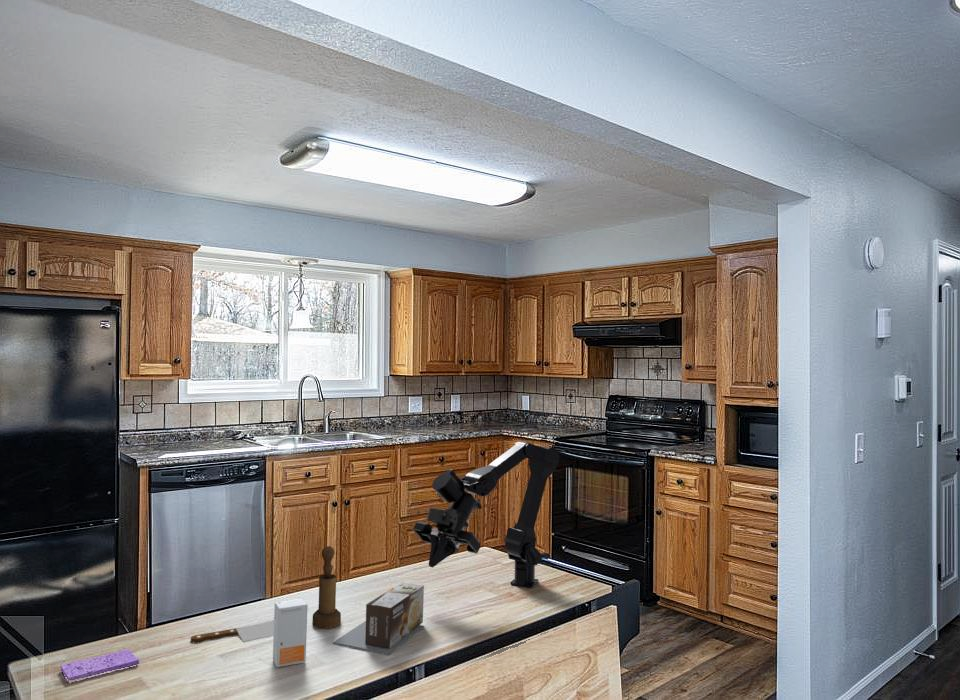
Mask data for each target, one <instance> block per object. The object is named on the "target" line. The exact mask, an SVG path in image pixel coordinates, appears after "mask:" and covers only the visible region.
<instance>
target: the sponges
mask: <svg viewBox="0 0 960 700" xmlns="http://www.w3.org/2000/svg"><path fill="white" fill-rule="evenodd" d="M137 664H140V658H138V657H137V656H136V655H135V654H134V653H133V652H132V651H131V650H130V649H129V648H128V649H124V650H120V651H115V652H111V653H108V654H104V655H99V656H94V657H91V658H86V659H82V660H77V661H71V662H67V663H63V664H60V672H61V671H62V672H63V674H64V675H65V677H67V679H68V681H69V680H75V679H79V678H84V677H88V676H92V675H96V674H100V673H104V672H107V671H112V670H116V669H121V668H125V667H130V666H133V665H137ZM137 666H138V665H137ZM63 674H62V675H63ZM65 677H64V678H65Z"/></svg>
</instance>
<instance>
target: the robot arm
mask: <svg viewBox="0 0 960 700" xmlns="http://www.w3.org/2000/svg"><path fill="white" fill-rule="evenodd" d="M526 459H528V464H527V465H528V469H529V474H530V475H529V479H528V482H527V486H526V490H525V493H524V497H523V501H522V505H521V508H520V511H519V515H518V519H517V522H516V523H515V525H514V526H513V527H510V526H509V527H508V528H507V530H506V536H505V538H504V539H503V541H504V549H505V551H506V553H507V555H508V559H509V560H513V561H514V579H512V580H511V581H510V583H509V584H510V585H513V586H518V587H519V586H520V587H527V588H533V587H534V586H535V585H536V584H538V582H539V578H536V575H535V574H536V573H535V572H536V566H538V565H540V564H541V563H542V559H543V554H541V552H540V551H539V550H538V548H537V547H536V545H537V537H536V531H535V526H536V521H537V518H538V514H539V510H540V507H541V503H542V500H543V496H544V492H545V488H546V484H547V481H548V479H549V477H551V475H552V474H554V472H555V471H556V469H557V467H558V463H559V462H560V454H559V452H558V450H557V449H556V448H555V447H551V446H545V445H539V444H538V445H536V444H534V443H532V442H528V441H522V440H519V441H516V442H515V443H514V445H513V446H511V447H510V448H508V449H507V451H505V452H504V453H502V454H501V455H500V456H498V457H497V458H496V459H494V460H493V461H492V462H490V463H489V464H487V465H486V466H482V467H478V468H476V469H473V470H472V471H469V472H467V473H466V474H465V476H463V477H460V478H459V476H458V475H457V474H456V472H455V471H454V470H453V469H450V468H448V469H447V470H446V471H445V472H443V473H441V474H439V475H438V476H436V477H435V478H434V480H433V481H432V484H431V487H432V490H433V491H435V492H436V493H437V494H438V495H439V497H440V498H442V499H443V501H444V502H445V503H448V504H450V503H451V504H450V506H449V508H446V509H438V508H436V507H435V508H434V507H429V510H428V513H427V517H426V521H428V522H429V521H430V522H432V523H433V526H434V527H435V528H433V527H432V525H431V524H430V523H428V522H422V521H417V522H416V523H414V526H413V528H412V531H413V532H414V534H416V536H417V537H418V538H419V539H420V541H421V542H424V543H426V544H428V543H429V544H430V552H429V553H430V554H429V557H428V558H429V560H428V566H429V567H430V568H435V566H437V565H438V564H439V563H442V562H443V561H444V560H445V559H447V558H449V557H451V555H453V554H455V553H459V550H460V549H459V547H460V546H461V545H465V546H466V550H467V552H469V553H471V554H478V552H479V551H480V548H481V542H480V541H479V539H478V538H477V537H476V535H475V534H474V533H473V532H471V531H468V530H464V529H465V528H467V529H468V528H469V526H470V525H469V523H468V521H469V519H470V517H471V515H472V513H473V510H482V504H481V502H480V501H481V499H480V498H476V497H475V496H474V495H476V496H480V497H486V496H489V494H491V492H492V491H494V490H495V488H496V487H497V485H498V482H499V480H500V479H501V478H502V477H503V476H505V475H507V473H509V472H510V471H512V469H514V468H516V467H517V466H518V465H519V464H520V463H521V462H523V461H524V460H526Z"/></svg>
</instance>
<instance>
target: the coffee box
mask: <svg viewBox="0 0 960 700" xmlns="http://www.w3.org/2000/svg"><path fill="white" fill-rule="evenodd" d="M424 590H425V586H424V585H423V584H418V583H412V582H404V581H403V582H399V584H397V585H395V586H394V587H392V588H391V589H389V590H387V591H386V592H384V593H383V594H381V595H379V596H378V597H376V598H374V599H372V600H371V601H370V602H367V603H366V605H365V621H366V635H365V644H366V645H370V646H375V647H380V648H381V647H384V648H391V647H392V646H394V645H395V644H396V643H397V642H399V641H400V640H401V639H402V638H404V637H405V636H406V635H408V634H409V633H410V632H411V631H413V630H414V629H415V628H416V627H418V626H419V625H422V624H423V622H424V597H425V596H424V595H425V594H424V593H425V591H424Z"/></svg>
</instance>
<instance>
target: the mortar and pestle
mask: <svg viewBox="0 0 960 700" xmlns="http://www.w3.org/2000/svg"><path fill="white" fill-rule="evenodd" d="M334 556H335V549H334V548H333V547H332V546H329V545H328V546H325V547H323V548H322V550H321V557H322V559H323V560H324V565H323V566H322V569H323V574H321V575H319V576H318V607H317V608H318V609H317V610H316V611H315V612H314V613H313V614H312V620H311V622H312V623H311V624H312V626H313V627H315V628H318V629H322V630H323V629H325V630H326V629H333V628H337V627H338V626H340V625H341V623H342V619H341V618H342V615H341V612H340V611H339V610H338V609H337V608H336V601H337V600H336V597H337V596H336V594H337V574H334V573H333V567H334V565H333V564H332V560H333V558H334Z"/></svg>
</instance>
